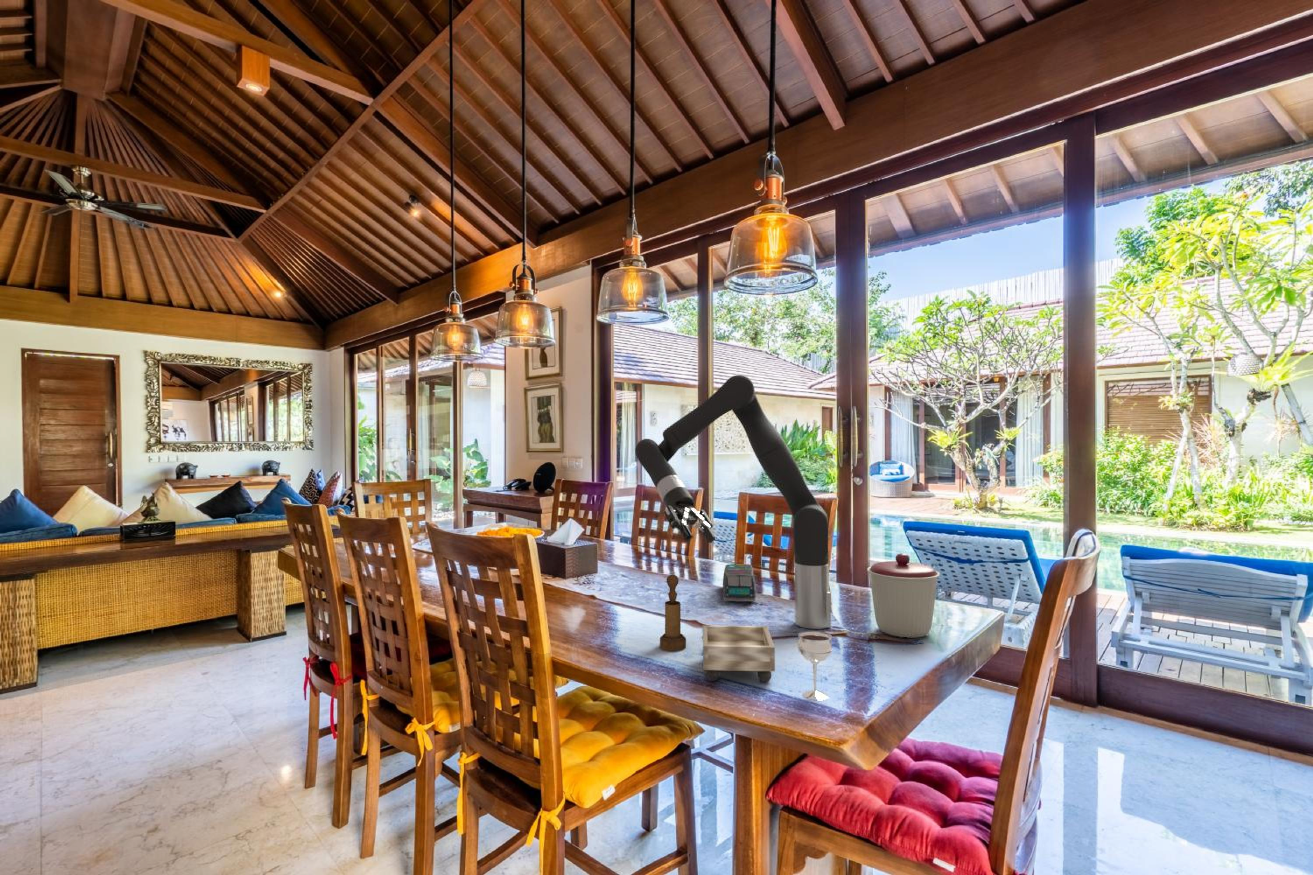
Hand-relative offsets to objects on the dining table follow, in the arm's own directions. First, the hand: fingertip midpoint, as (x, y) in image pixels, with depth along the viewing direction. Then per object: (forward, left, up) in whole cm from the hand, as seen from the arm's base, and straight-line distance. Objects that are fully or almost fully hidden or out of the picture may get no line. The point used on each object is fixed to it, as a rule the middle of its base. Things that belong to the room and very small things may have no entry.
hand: (701, 540), depth 162 cm
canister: (-54, -8, -26) cm, 60 cm away
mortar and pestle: (+7, +7, -26) cm, 28 cm away
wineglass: (-23, +35, -26) cm, 49 cm away
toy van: (-12, -46, -26) cm, 54 cm away
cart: (-8, +23, -26) cm, 35 cm away
